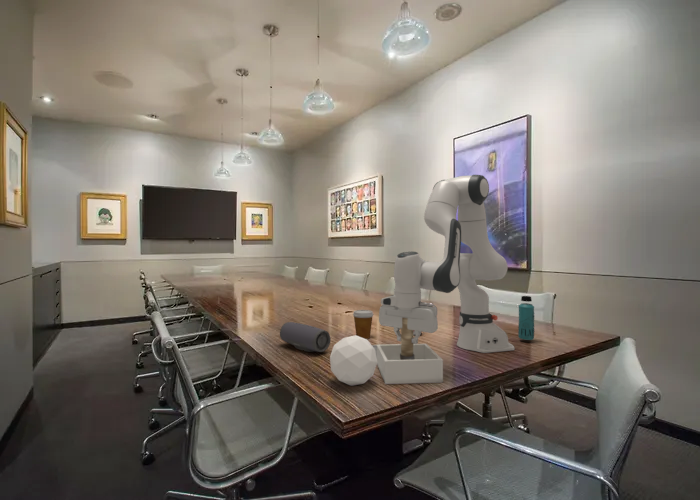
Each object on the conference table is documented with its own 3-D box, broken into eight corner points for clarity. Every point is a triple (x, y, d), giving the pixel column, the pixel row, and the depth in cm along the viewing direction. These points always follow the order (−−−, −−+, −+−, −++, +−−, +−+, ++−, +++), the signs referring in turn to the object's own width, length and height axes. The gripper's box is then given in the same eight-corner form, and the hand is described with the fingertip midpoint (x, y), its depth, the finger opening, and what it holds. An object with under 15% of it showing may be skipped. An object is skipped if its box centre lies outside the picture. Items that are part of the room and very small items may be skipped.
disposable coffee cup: (377, 336, 163) (377, 310, 163) (367, 341, 155) (367, 314, 155) (359, 333, 168) (359, 308, 168) (348, 338, 160) (348, 312, 160)
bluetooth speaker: (331, 352, 139) (331, 327, 139) (314, 357, 132) (314, 331, 132) (296, 341, 155) (296, 319, 155) (278, 346, 148) (278, 322, 148)
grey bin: (426, 363, 126) (426, 343, 126) (442, 382, 108) (442, 359, 108) (376, 364, 125) (376, 344, 125) (385, 384, 107) (385, 361, 107)
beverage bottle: (518, 342, 152) (518, 296, 152) (517, 338, 159) (517, 294, 158) (535, 344, 150) (535, 297, 150) (533, 340, 156) (533, 295, 156)
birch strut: (416, 360, 117) (417, 316, 117) (410, 364, 113) (410, 319, 113) (404, 357, 120) (404, 315, 119) (397, 361, 116) (397, 317, 116)
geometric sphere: (341, 397, 110) (323, 352, 116) (383, 376, 113) (363, 334, 119) (340, 391, 97) (320, 342, 104) (388, 368, 100) (365, 321, 107)
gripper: (441, 302, 112) (440, 345, 113) (385, 297, 125) (385, 335, 125) (433, 305, 107) (433, 349, 108) (376, 299, 119) (376, 339, 120)
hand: (407, 342), depth 116 cm, fingers closed on birch strut, 4 cm apart
